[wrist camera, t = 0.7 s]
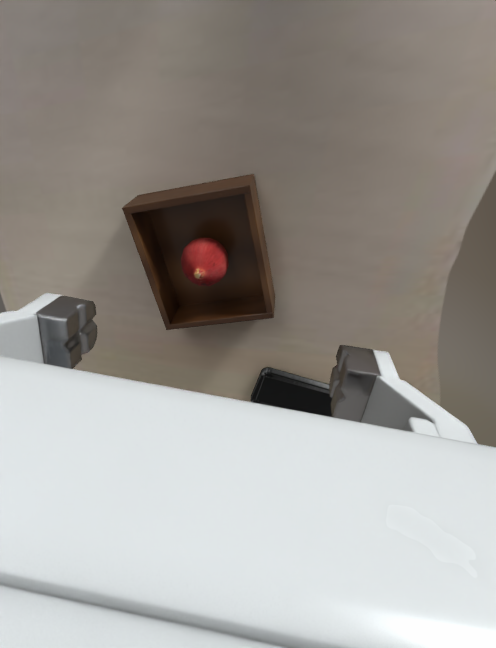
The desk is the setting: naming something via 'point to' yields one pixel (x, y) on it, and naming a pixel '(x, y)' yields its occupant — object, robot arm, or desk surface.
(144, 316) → the desk surface
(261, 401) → the phone
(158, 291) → the wooden box
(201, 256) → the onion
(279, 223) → the desk surface
